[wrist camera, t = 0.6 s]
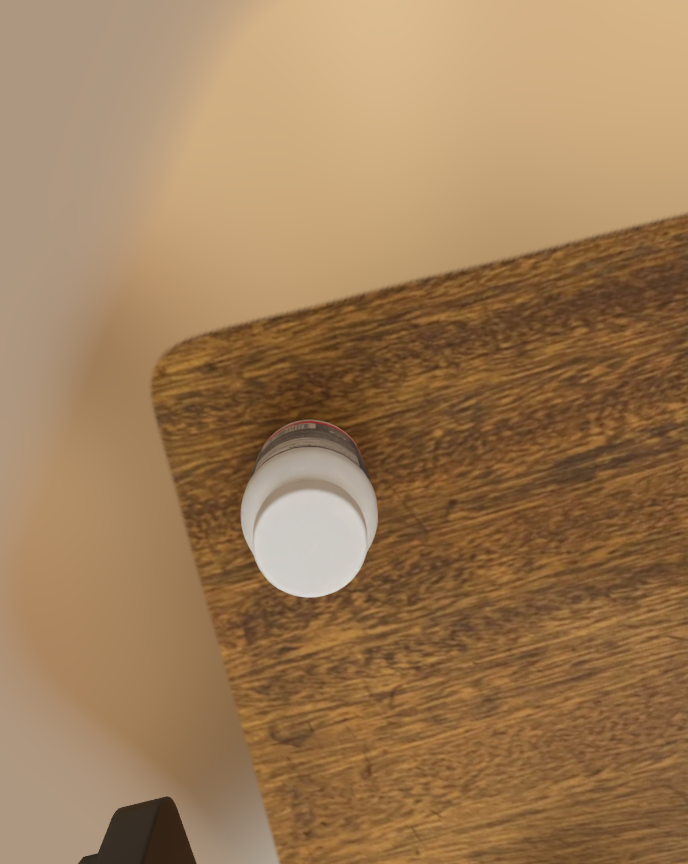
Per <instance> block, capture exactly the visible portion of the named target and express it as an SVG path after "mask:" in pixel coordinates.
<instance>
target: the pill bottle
mask: <svg viewBox="0 0 688 864" xmlns="http://www.w3.org/2000/svg"><path fill="white" fill-rule="evenodd" d="M377 523H378V505H377V499H376V495H375V492H374V489H373V486H372V484H371V481H370V478H369V475H368V472H367V469H366V466H365V463H364V460H363V457H362V454H361V452H360V450H359V448H358V446H357V445H356V443H355V442H354V440H353V439H352V438H351V437H350V436H349V435H348V434H347V433H346V432H345V431H343V430H342V429H340V428H339V427H337V426H335V425H333V424H331V423H328V422H325V421H320V420H312V419H309V420H299V421H295V422H292V423H290V424H287V425H285V426H283V427H282V428H280V429H279V430H277V431H276V432H275V433H274V434H272V435H271V436H270V438H269V439H268V440H267V441H266V442H265V444H264V445H263V447H262V449H261V451H260V453H259V455H258V458H257V461H256V463H255V466H254V469H253V471H252V474H251V476H250V479H249V482H248V485H247V487H246V490H245V493H244V496H243V500H242V505H241V524H242V529H243V534H244V537H245V540H246V542H247V544H248V546H249V548H250V550H251V551H252V553H253V554H254V558H255V560H256V563H257V565H258V567H259V569H260V571H261V572H262V574H263V575H264V576H265V577H266V579H267V580H268V581H269V582H270V583H271V584H273V585H274V586H275V587H277V588H278V589H280V590H282V591H284V592H286V593H289V594H291V595H295V596H300V597H320V596H324V595H328V594H330V593H333V592H336V591H337V590H339V589H341V588H342V587H344V586H346V585H347V584H348V583H349V582H350V581H351V580H352V579H353V578H354V577H355V576H356V574H357V573H358V572H359V570H360V568H361V567H362V565H363V562H364V560H365V557H366V553H367V551H368V549H369V547H370V546H371V544H372V542H373V539H374V536H375V533H376V529H377Z"/></svg>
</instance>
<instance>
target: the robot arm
mask: <svg viewBox="0 0 688 864" xmlns="http://www.w3.org/2000/svg"><path fill="white" fill-rule="evenodd" d="M78 864H196V861H195V858H194V856H193V853H192V850H191V847H190V844H189V841H188V838H187V836H186V833H185V830H184V827H183V824H182V821H181V819H180V816H179V813H178V810H177V807H176V805H175V803H174V801H173V800H172V799H171V798H170V797H163V798H159V799H155V800H150V801H146V802H142V803H139V804H134V805H130V806H126V807H122V808H119V809H118V810H117V811H116V812H115V813H114V815H113V817H112V819H111V822H110V824H109V827H108V829H107V832H106V835H105V837H104V840H103V842H102V845H101V847H100V850H99V852H98V854H94V855H90V856H85V857H83V858H82V860H81V861H80V862H79V863H78Z"/></svg>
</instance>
